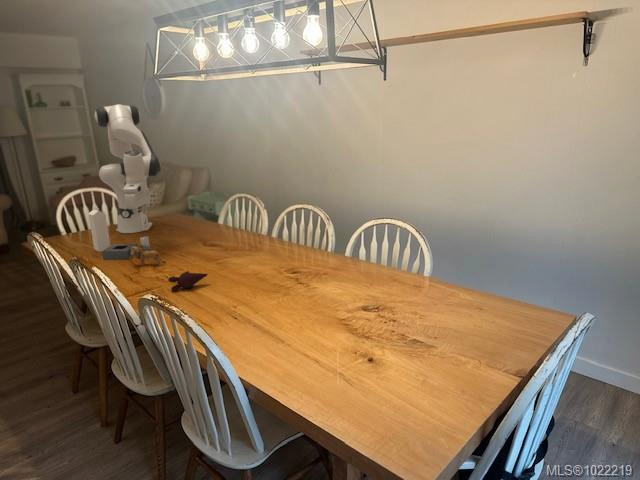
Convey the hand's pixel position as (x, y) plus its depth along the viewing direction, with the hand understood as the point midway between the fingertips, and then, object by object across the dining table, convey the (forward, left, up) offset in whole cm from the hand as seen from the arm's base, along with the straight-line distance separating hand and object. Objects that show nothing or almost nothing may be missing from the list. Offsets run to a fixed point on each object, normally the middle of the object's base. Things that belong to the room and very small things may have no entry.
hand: (141, 214), depth 219 cm
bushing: (0, 0, -19) cm, 19 cm away
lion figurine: (+18, +8, -20) cm, 28 cm away
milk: (-7, -25, -20) cm, 33 cm away
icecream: (+45, +35, -20) cm, 60 cm away
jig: (+3, -11, -19) cm, 22 cm away
